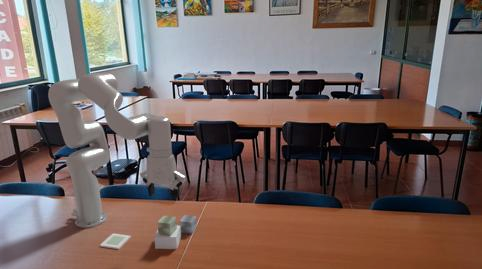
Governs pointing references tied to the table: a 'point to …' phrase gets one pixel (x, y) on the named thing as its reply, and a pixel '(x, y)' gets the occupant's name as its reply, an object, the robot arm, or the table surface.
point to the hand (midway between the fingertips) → (164, 196)
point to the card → (115, 241)
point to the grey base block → (168, 240)
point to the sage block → (167, 225)
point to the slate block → (188, 224)
